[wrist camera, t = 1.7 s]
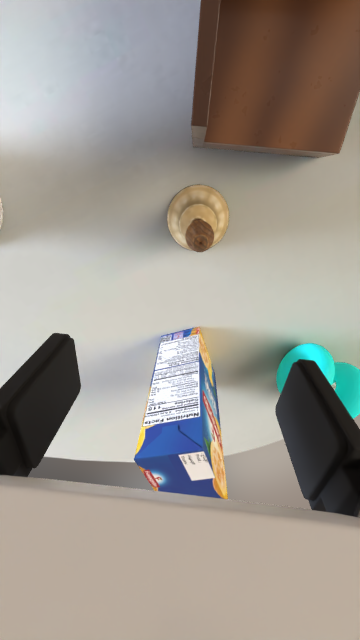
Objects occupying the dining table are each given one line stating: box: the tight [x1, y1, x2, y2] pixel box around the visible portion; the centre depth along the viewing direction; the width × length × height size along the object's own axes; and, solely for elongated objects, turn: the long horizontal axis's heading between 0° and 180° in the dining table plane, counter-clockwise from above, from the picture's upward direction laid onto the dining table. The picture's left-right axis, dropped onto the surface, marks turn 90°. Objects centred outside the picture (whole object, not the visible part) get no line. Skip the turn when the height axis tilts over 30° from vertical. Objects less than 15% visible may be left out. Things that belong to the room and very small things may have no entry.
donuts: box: [276, 343, 360, 418], centre depth 40 cm, size 10×10×10 cm
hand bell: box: [167, 184, 229, 252], centre depth 27 cm, size 8×8×16 cm
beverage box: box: [134, 327, 228, 499], centre depth 35 cm, size 7×11×22 cm, turn 18°
